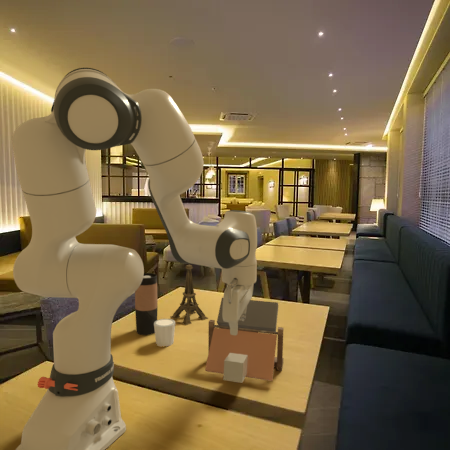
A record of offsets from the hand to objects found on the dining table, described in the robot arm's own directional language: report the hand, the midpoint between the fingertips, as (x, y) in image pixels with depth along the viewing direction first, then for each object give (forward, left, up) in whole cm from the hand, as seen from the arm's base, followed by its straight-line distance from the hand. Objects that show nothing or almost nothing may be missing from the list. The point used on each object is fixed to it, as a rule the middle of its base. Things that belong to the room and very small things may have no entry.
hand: (238, 326), depth 90 cm
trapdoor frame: (+11, 0, -15) cm, 19 cm away
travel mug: (+24, +38, -15) cm, 47 cm away
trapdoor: (+9, 0, -7) cm, 12 cm away
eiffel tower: (+40, +28, -15) cm, 51 cm away
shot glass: (+17, +28, -15) cm, 36 cm away
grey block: (+1, 0, -10) cm, 10 cm away
